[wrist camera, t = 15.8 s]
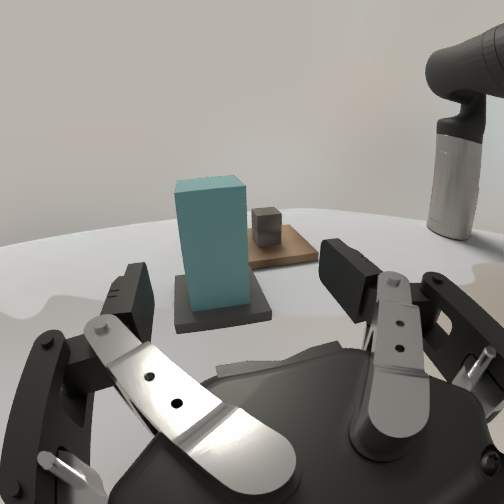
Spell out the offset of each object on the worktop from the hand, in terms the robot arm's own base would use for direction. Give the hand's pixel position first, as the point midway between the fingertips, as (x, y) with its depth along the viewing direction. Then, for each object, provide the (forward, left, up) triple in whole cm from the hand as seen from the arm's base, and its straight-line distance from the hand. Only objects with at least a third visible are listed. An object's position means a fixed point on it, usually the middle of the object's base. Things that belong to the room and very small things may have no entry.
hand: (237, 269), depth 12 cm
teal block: (0, -11, -8) cm, 13 cm away
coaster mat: (0, -11, -9) cm, 14 cm away
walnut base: (-7, -21, -9) cm, 24 cm away
